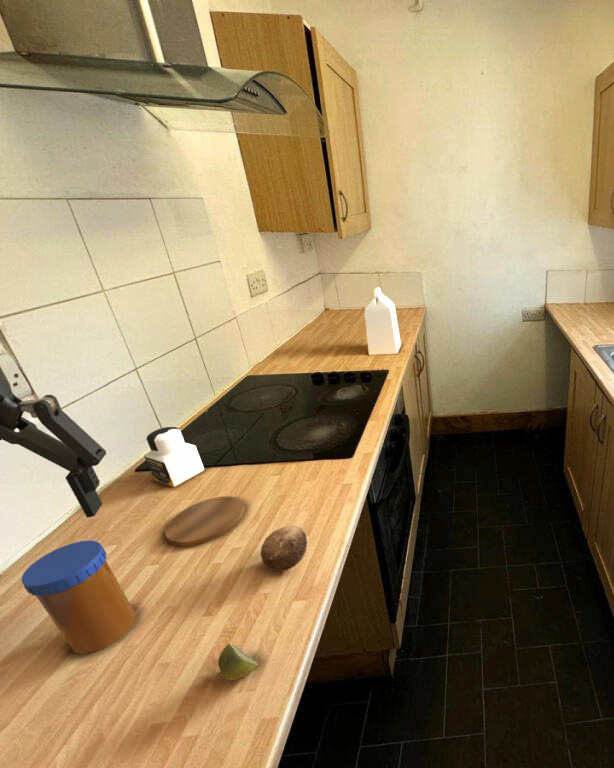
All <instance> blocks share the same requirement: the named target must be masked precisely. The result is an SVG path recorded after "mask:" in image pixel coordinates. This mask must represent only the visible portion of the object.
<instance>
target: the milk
mask: <svg viewBox="0 0 614 768" xmlns="http://www.w3.org/2000/svg"><path fill="white" fill-rule="evenodd" d="M373 295H374V298H373V299H372V300H371V301H370V302H369V304H368V305H367V306H365V308H364V321H365V331H366V341H367V349H368V350H367V351H368V355H370V356H371V355H376V356H377V355H393V354H394V355H396V354H398V352H399V350H400V348H401V346H402V342H401V337H400V329H399V323H398V318H397V310H396V305H395V303H394V302H393V301H392V300H391V299H390V298H389V297H387V296H386V295H385V294H383V292H382V290H381V286H376V287H375V288H374V289H373Z"/></svg>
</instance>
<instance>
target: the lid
mask: <svg viewBox="0 0 614 768" xmlns="http://www.w3.org/2000/svg"><path fill="white" fill-rule="evenodd" d="M107 555H108V553H107V552H106V550H105V549H104V547H103V545H102V544H101V543H100V542H99V541H96V540H81V541H76V542H72V543H69V544H66V545H63V546H61V547H59V548H56V549H54V550H51V551H50V552H48V553H46V554H44V555H43V556H41V557H40V558H39V559H37V560H35V561H34V562H33V563H32V564H30V566H28V567H27V568H26V570H25V571H24V572H23V573H22V575H21V582H22V585H23V587H24V589H25V590H26V592H27V593H28V594H30V595H32V596H35V597H36V596H46V595H51V594H55V593H59V592H62V591H64V590H67V589H69V588H71V587H73V586H76V585H77V584H79V583H81V582H83V581H84V580H86V579H88V578H89V577H90V576H92V575H93V574H94V573H95V572H97V571H98V570H99V569H100V568H101V567H102V565H103V564H104V562H105V560H106V561H107Z"/></svg>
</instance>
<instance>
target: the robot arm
mask: <svg viewBox="0 0 614 768" xmlns="http://www.w3.org/2000/svg"><path fill="white" fill-rule="evenodd" d="M24 412H25V413H28V414H30V417H31V418H33V419H38V421H39V422H40V423H41V424H42V425H43V427H45V428H46V429H47V430H48V431H49V432H50V433H52V434H53V436H52V435H51V434H48V433H46V432H45V431H43V430H41V429H39V428H38V427H37V425H36V424H35V423H34V422H32V421H30V420H28V419H26V418H25V417H23V415H24ZM16 429H17V430H18V431H16ZM54 436H55V437H56V438H55V437H54ZM0 441H4V442H7V443H8V444H10V445H18V446H20V447H22V448H24V449H26V450H27V451H30V452H31V453H34V454H35V455H38V456H39V457H41V458H43V459H45V460H47V461H49V462H51V463H53V464H54V465H57V466H58V467H60V468H63V469H64V470H66V471H68V474H66V476H65V480H66V482H67V484H68V485H69V487H70V489H71V491H72V494H73V495H74V497H75V498H76V500H77V502H78V504H79V506H80V507H81V509H82V511H83V513H84V515H85V516H86V519H87V518H88V519H89V518H93V517H95V516H96V515H97V513H98V512H99V510H100V508H102V506H103V502H102V500H101V498H100V496H99V494H98V492H97V489H98V487H99V486H100V483H101V481H100V479H99V477H98V475H97V473H96V471H95V469H94V467H96V466H98V465H99V464H100V463H101V462H102V460H103V459H104V457H105V456H106V455H107V451H106V449H105V448H104V447H103V446H101V445H100V444H99V442H98V441H96V440H95V439H94V438H92V436H90V435H89V433H87V432H86V431H85V430H84V429H83V428H82V427H80V425H79V424H77V423H76V421H74V420H73V418H71V417H70V416H69V415H68V414H67V413H65V411H63V408H62V407H61V405H60V403H59V400H58V399H57V397H56V396H55V395H53V394H45V395H44V396H42V397H41V398H35V399H27V400H22V398H19V397H18V396H16V395H15V394H14V392H13V390H12V385H11V383H10V381H9V379H8V377H7V376H6V374H5V372H4V371H3V369H2V367H1V366H0Z"/></svg>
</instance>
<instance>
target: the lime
mask: <svg viewBox="0 0 614 768" xmlns="http://www.w3.org/2000/svg"><path fill="white" fill-rule="evenodd" d="M217 664H218V669H219V674H220V675H221V676H222V677H223V678H225V679H227V680H229V681H237V680H239V679H242V678H244V677H247V676H248V675H250V674H251V673H253V672H254V671H255V670H256V669H257V667H258V666H259V663H258V662H257V661H255V660H254V658H252V657H251V656H250V655H248V654H247V653H245V652H244V651H243V650H242V649H241V648H240V647H238V646H236V645H235V644H233V643H231V642H229V643H227V644H226V646H224V647H223V649H222V650H221V652H220V654H219V656H218V661H217Z"/></svg>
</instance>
